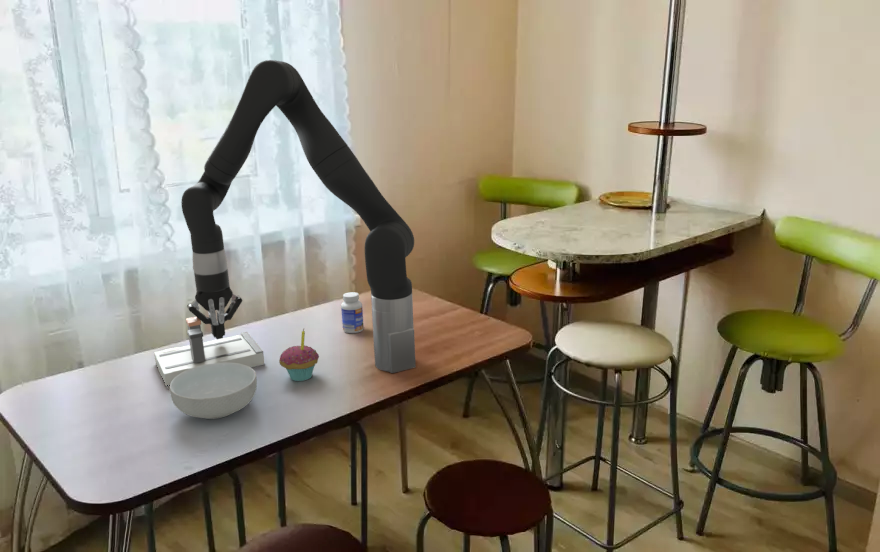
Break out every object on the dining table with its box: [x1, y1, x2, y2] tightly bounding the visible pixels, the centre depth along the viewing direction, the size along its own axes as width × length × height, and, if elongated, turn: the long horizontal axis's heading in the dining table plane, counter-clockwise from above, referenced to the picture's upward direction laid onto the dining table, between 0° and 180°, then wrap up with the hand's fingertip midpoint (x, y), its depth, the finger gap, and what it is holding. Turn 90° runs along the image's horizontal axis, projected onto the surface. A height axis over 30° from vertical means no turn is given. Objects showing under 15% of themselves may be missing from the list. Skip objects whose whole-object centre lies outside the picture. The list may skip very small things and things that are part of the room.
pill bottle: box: [340, 291, 364, 334], centre depth 189 cm, size 5×5×10 cm
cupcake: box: [278, 328, 320, 382], centre depth 163 cm, size 9×8×12 cm
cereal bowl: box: [169, 363, 258, 420], centre depth 149 cm, size 17×17×7 cm
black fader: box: [186, 328, 205, 363], centre depth 165 cm, size 3×3×7 cm
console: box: [153, 331, 265, 387], centre depth 172 cm, size 14×22×3 cm, turn 119°
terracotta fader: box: [185, 316, 202, 330], centre depth 173 cm, size 3×3×7 cm
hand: (219, 337), depth 176 cm, fingers closed
